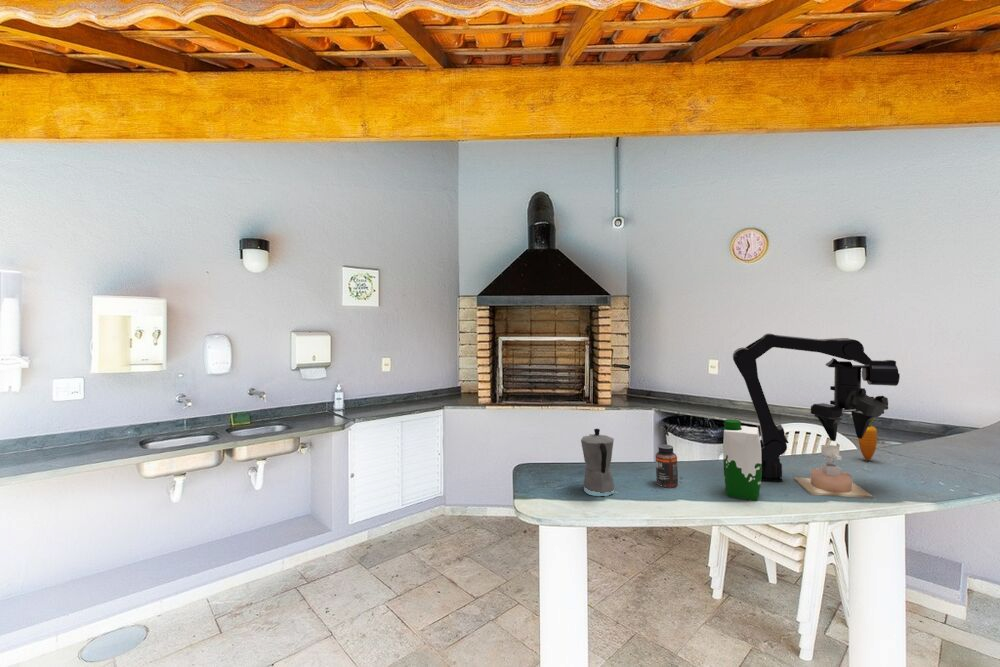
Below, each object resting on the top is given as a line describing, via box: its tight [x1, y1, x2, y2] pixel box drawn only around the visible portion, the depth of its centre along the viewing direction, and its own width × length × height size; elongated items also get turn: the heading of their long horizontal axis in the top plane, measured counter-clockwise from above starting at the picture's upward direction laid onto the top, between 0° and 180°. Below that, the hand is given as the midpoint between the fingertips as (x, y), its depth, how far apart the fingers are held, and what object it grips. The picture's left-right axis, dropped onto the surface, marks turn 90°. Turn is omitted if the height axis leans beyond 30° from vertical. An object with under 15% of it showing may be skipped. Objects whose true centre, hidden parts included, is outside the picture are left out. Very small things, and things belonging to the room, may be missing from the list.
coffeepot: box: [580, 428, 616, 493], centre depth 122 cm, size 15×9×18 cm, turn 0°
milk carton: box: [722, 418, 762, 502], centre depth 117 cm, size 9×9×20 cm
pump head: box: [820, 444, 843, 465], centre depth 118 cm, size 4×7×5 cm, turn 165°
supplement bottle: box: [655, 444, 679, 488], centre depth 126 cm, size 6×6×11 cm
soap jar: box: [810, 462, 853, 493], centre depth 119 cm, size 9×9×6 cm
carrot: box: [857, 418, 878, 462], centre depth 139 cm, size 5×5×15 cm
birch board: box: [793, 476, 873, 499], centre depth 119 cm, size 14×11×1 cm
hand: (846, 439), depth 120 cm, fingers open, 9 cm apart
